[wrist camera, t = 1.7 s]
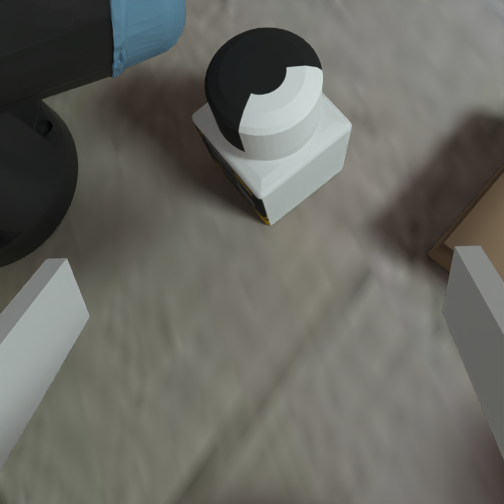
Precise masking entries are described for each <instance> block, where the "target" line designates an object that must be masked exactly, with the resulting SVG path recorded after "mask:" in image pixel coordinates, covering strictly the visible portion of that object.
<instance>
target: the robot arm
mask: <svg viewBox="0 0 504 504" xmlns="http://www.w3.org/2000/svg"><path fill="white" fill-rule="evenodd" d="M185 22H186V4H185V0H0V267H1V266H4V265H7V264H10V263H13V262H15V261H17V260H19V259H21V258H23V257H25V256H26V255H28V254H30V253H31V252H32V251H34V250H35V249H36V248H38V247H39V246H40V245H41V244H42V243H44V242H45V241H46V240H47V239H48V238H49V237H50V235H51V234H52V233H53V232H54V231H55V230H56V228H57V227H58V225H59V224H60V223H61V221H62V219H63V218H64V216H65V214H66V212H67V210H68V208H69V206H70V204H71V201H72V199H73V195H74V192H75V188H76V183H77V175H78V159H77V152H76V147H75V144H74V140H73V138H72V135H71V133H70V131H69V129H68V127H67V126H66V124H65V123H64V121H63V120H62V119H61V118H60V117H59V115H58V114H57V113H56V112H55V111H53V110H52V109H51V108H50V107H49V106H48V105H47V104H46V103H44V102H43V101H42V100H41V99H44V98H47V97H50V96H53V95H56V94H59V93H62V92H65V91H68V90H71V89H74V88H77V87H80V86H83V85H86V84H89V83H92V82H95V81H98V80H101V79H104V78H107V77H110V76H111V77H112V78H115V77H118V75H121V74H122V73H123V71H124V69H125V68H128V67H130V66H133V65H135V64H137V63H140V62H142V61H145V60H147V59H150V58H152V57H154V56H157V55H159V54H162V53H164V52H166V51H168V50H169V49H170V48H171V47H172V46H173V45H174V44H175V43H176V42H177V40H178V39H179V37H180V36H181V34H182V32H183V28H184V26H185ZM442 313H443V315H444V318H445V320H446V322H447V325H448V327H449V330H450V332H451V334H452V337H453V339H454V342H455V344H456V346H457V349H458V351H459V354H460V356H461V358H462V361H463V363H464V366H465V368H466V371H467V373H468V375H469V378H470V380H471V383H472V385H473V387H474V390H475V392H476V395H477V397H478V399H479V402H480V404H481V407H482V409H483V411H484V414H485V416H486V419H487V421H488V424H489V426H490V428H491V431H492V433H493V436H494V438H495V440H496V443H497V445H498V448H499V450H500V452H501V455H502V457H503V460H504V282H503V280H502V279H501V277H500V276H499V274H498V272H497V271H496V269H495V268H494V266H493V265H492V263H491V262H490V260H489V258H488V257H487V255H486V254H485V252H484V251H483V249H482V248H481V246H455V248H454V253H453V259H452V264H451V269H450V274H449V279H448V285H447V290H446V295H445V300H444V305H443V311H442ZM89 317H90V316H89V313H88V311H87V308H86V306H85V303H84V301H83V298H82V295H81V293H80V290H79V288H78V285H77V283H76V280H75V278H74V275H73V272H72V270H71V267H70V265H69V262H68V260H67V258H54V259H46V260H45V261H44V263H43V264H42V265H41V266H40V267H39V269H38V270H37V271H36V272H35V273H34V274H33V276H32V277H31V278H30V279H29V280H28V282H27V283H26V284H25V285H24V286H23V288H22V289H21V290H20V291H19V292H18V294H17V295H16V296H15V297H14V298H13V300H12V301H11V302H10V303H9V304H8V306H7V307H6V308H5V309H4V310H3V312H2V313H1V314H0V470H1V469H2V467H3V465H4V464H5V462H6V460H7V458H8V457H9V455H10V453H11V452H12V450H13V448H14V446H15V445H16V443H17V441H18V439H19V438H20V436H21V434H22V433H23V431H24V429H25V427H26V426H27V424H28V422H29V420H30V419H31V417H32V415H33V414H34V412H35V410H36V408H37V407H38V405H39V403H40V402H41V400H42V398H43V396H44V395H45V393H46V391H47V389H48V388H49V386H50V384H51V383H52V381H53V379H54V377H55V376H56V374H57V372H58V370H59V369H60V367H61V365H62V364H63V362H64V360H65V358H66V357H67V355H68V353H69V352H70V350H71V348H72V346H73V345H74V343H75V341H76V339H77V338H78V336H79V334H80V333H81V331H82V329H83V327H84V326H85V324H86V322H87V321H88V319H89Z"/></svg>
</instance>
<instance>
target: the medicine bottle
mask: <svg viewBox="0 0 504 504" xmlns="http://www.w3.org/2000/svg"><path fill="white" fill-rule="evenodd" d="M322 82H323V74H322V67H321V63H320V61H319V58H318V56H317V54H316V53H315V51H314V49H313V48H312V47H311V46H310V45H309V44H308V43H307V42H306V41H305V40H304V39H302V38H301V37H299V36H298V35H296V34H294V33H292V32H290V31H286V30H283V29H278V28H257V29H252V30H248V31H245V32H243V33H241V34H239V35H237V36H235V37H233V38H232V39H230V40H229V41H227V42H226V43H225V44H224V45H223V46H222V47H221V48H220V49H219V50H218V51H217V52H216V54H215V55H214V57H213V58H212V60H211V62H210V64H209V66H208V69H207V72H206V77H205V94H206V98H207V102H208V103H206V104H205V105H204V106H202V107H201V108H200V109H199V110H197V111H196V112H195V113H194V114H193V115H192V120H193V122H194V124H195V126H196V128H197V130H198V132H199V134H200V136H201V137H202V139H203V141H204V143H205V145H206V147H207V149H208V151H209V153H210V154H211V156H212V158H213V160H214V162H215V163H216V164H217V165H218V167H219V168H220V169H221V170H222V172H223V173H224V174H225V175H226V176H227V178H228V179H229V180H230V181H231V182H232V184H233V185H234V186H235V187H236V188H237V190H238V191H239V192H240V193H241V194H242V196H243V197H244V198H245V199H246V200H247V202H248V203H249V204H250V205H251V206H252V208H253V209H254V210H255V211H256V212H257V214H258V215H259V216H260V217H261V219H262V220H263V221H264V222H265V223H266V224H267V225H273V224H274V223H275V222H277V221H278V220H279V219H280V218H282V217H283V216H284V215H286V214H287V213H288V212H289V211H291V210H292V209H293V208H294V207H296V206H297V205H298V204H299V203H301V202H302V201H303V200H304V199H306V198H307V197H308V196H309V195H311V194H312V193H313V192H314V191H316V190H317V189H318V188H319V187H321V186H322V185H323V184H324V183H326V182H327V181H328V180H329V179H331V178H332V177H333V176H334V175H336V174H337V173H338V172H340V171H341V170H342V168H343V164H344V159H345V155H346V150H347V146H348V141H349V137H350V132H351V126H352V125H351V123H350V121H349V120H348V119H347V118H346V117H345V116H344V115H343V114H342V113H341V112H340V111H339V110H338V109H337V107H336V106H335V105H334V104H333V103H332V102H331V101H330V100H329V99H328V98H327V97H326V96H325V95H324V94H323V93H322Z"/></svg>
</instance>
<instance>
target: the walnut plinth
mask: <svg viewBox="0 0 504 504" xmlns="http://www.w3.org/2000/svg"><path fill="white" fill-rule="evenodd" d="M455 246H481V248H482V249H483V251H484V252H485V254H486V255H487V257H488V258H489V260H490V262H491V263H492V265H493V266H494V268H495V269H496V271H497V272H498V274H499V276H500V277H501V279H502V280H503V282H504V164H503V165H502V166H501V167H500V168H499V170H498V171H497V172H496V173H495V174H494V175H493V177H492V178H491V179H490V180H489V181H488V183H487V184H486V185H485V186H484V187H483V188H482V190H481V191H480V192H479V193H478V194H477V196H476V197H475V198H474V199H473V200H472V201H471V203H470V204H469V205H468V206H467V207H466V208H465V210H464V211H463V212H462V213H461V214H460V216H459V217H458V218H457V219H456V220H455V221H454V223H453V224H452V225H451V226H450V227H449V229H448V230H447V231H446V232H445V233H444V234H443V236H442V237H441V238H440V239H439V240H438V242H437V243H436V244H435V245H434V246H433V247H432V249H431V250H430V251H429V252H428V253H427V256H428V257H430V258H431V259H432V260H434V261H435V262H436V263H437V264H439V265H440V266H441V267H443V268H444V269H445V270H447V271H448V272H449V273H450V269H451V264H452V259H453V253H454V248H455Z"/></svg>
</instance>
